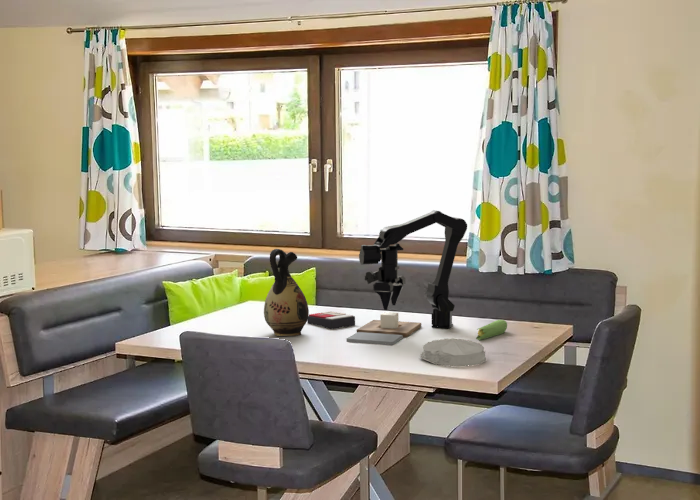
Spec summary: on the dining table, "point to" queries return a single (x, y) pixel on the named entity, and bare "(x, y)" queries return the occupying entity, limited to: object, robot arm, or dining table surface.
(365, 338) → the grey mat
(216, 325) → the dining table surface
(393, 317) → the white block
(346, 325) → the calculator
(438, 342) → the grey stone disc
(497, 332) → the edible corn
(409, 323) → the pocket plate
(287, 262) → the ceramic jug
